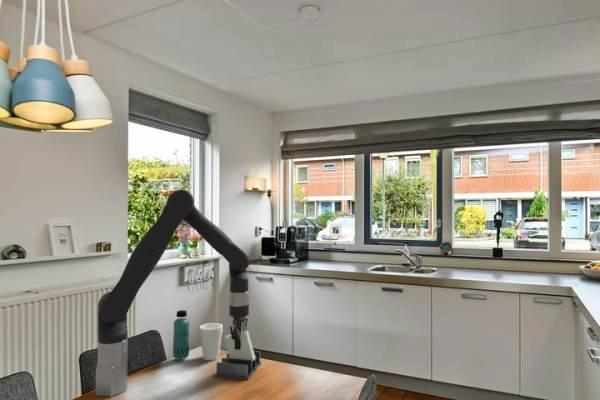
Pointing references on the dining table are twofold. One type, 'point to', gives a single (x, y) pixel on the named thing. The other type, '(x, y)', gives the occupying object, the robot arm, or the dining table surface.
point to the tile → (246, 347)
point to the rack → (238, 367)
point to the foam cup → (211, 340)
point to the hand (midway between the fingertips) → (239, 347)
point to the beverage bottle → (181, 336)
